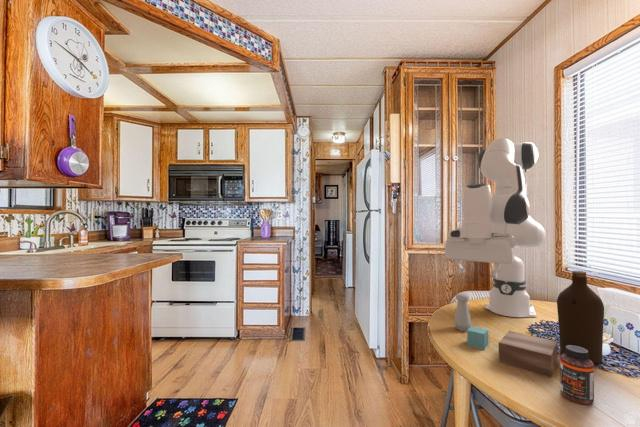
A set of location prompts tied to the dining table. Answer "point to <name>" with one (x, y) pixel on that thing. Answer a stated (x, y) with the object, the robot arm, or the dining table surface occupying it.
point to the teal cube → (477, 337)
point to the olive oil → (581, 317)
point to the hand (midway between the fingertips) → (477, 275)
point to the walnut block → (529, 353)
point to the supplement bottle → (577, 375)
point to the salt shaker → (462, 313)
